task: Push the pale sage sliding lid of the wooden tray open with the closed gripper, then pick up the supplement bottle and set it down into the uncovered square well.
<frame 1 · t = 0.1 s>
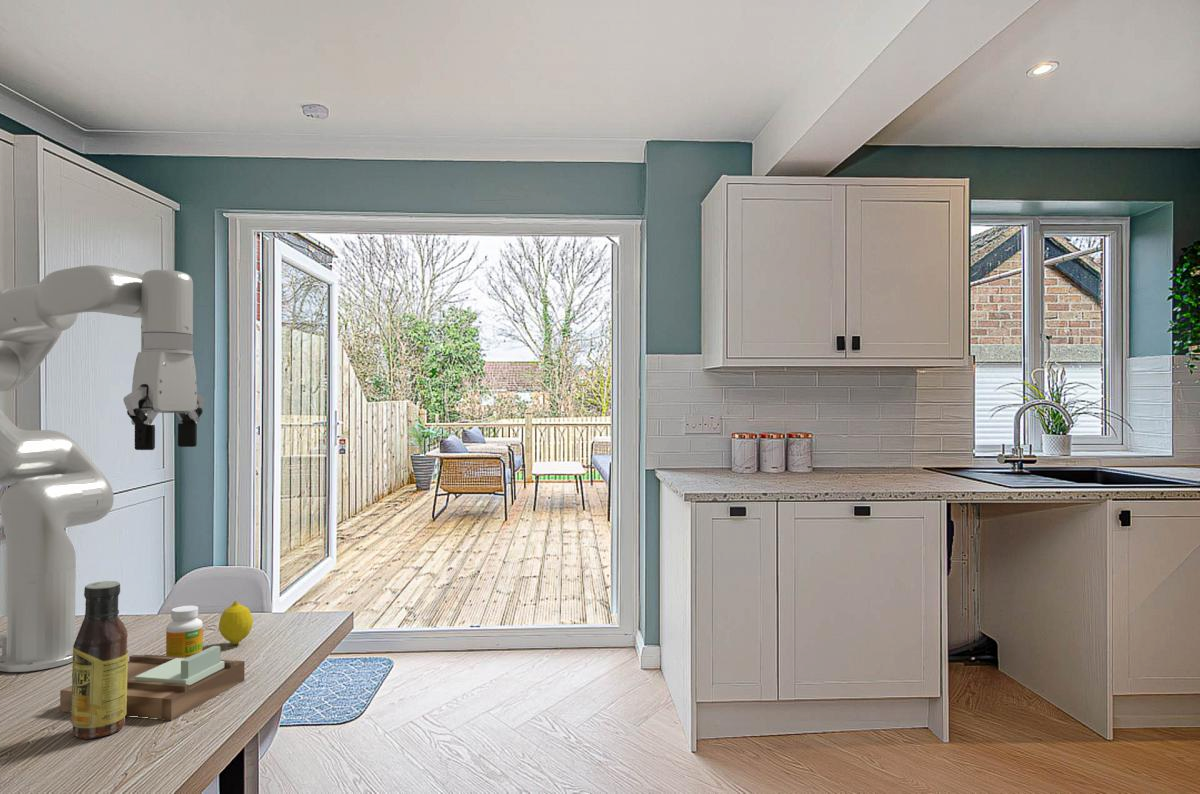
hand: (166, 448, 127), 37 cm above the table, tool pointing down, fingers open, 9 cm apart
supplement bottle: (184, 667, 128), on the table
wooden tray: (157, 694, 116), on the table
fruit: (235, 645, 140), on the table
sauce bottle: (99, 733, 103), on the table
lid: (180, 663, 115), point 5 cm above the table, slide at 0.0 cm
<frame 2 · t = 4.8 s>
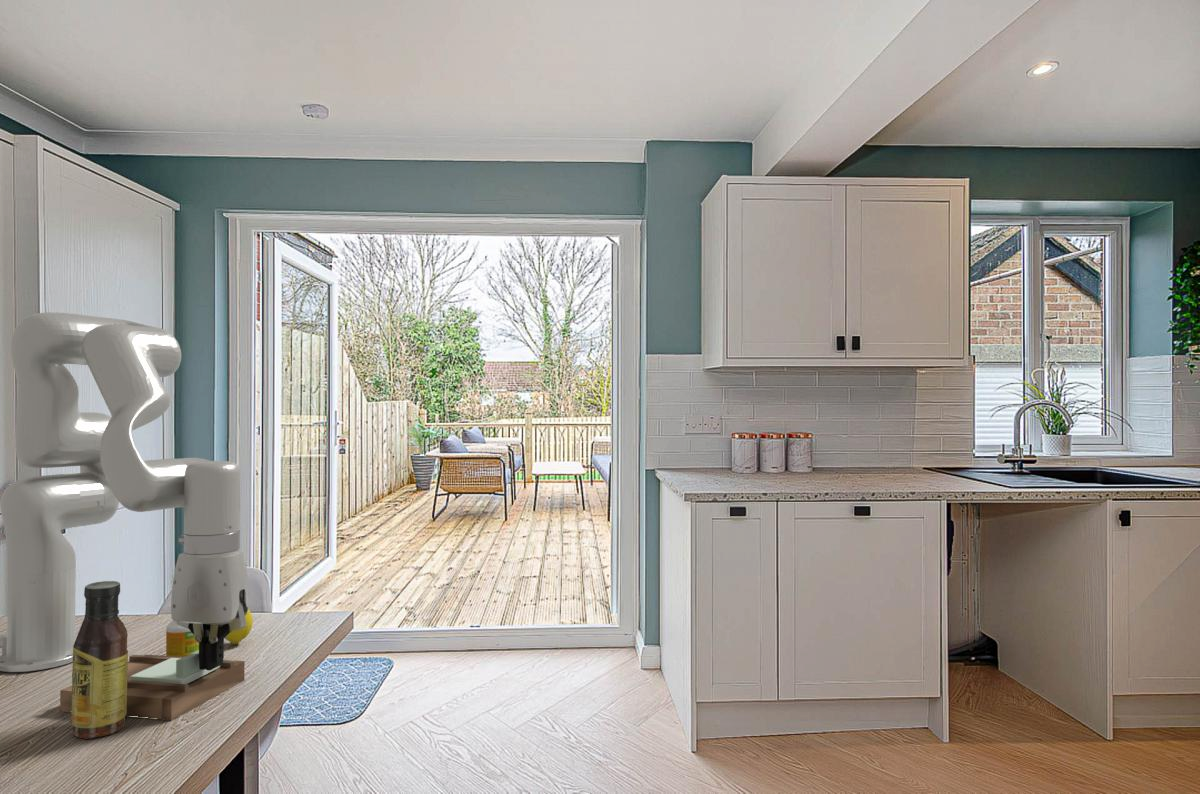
hand: (211, 666, 114), 5 cm above the table, tool pointing down, fingers closed
lid: (176, 663, 115), point 5 cm above the table, slide at 0.8 cm, touching gripper
everything else where it was.
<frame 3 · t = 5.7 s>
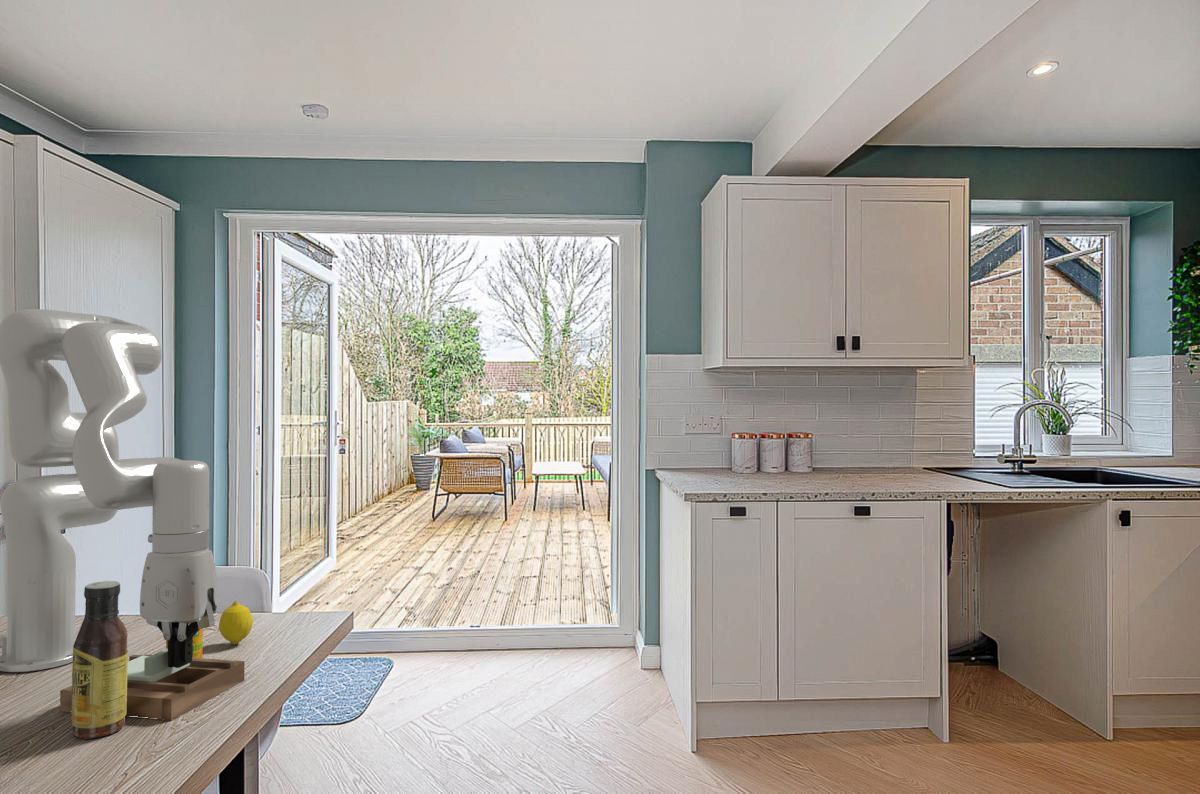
hand: (180, 664, 115), 5 cm above the table, tool pointing down, fingers closed
lid: (145, 661, 116), point 5 cm above the table, slide at 6.0 cm, touching gripper
everything else where it was.
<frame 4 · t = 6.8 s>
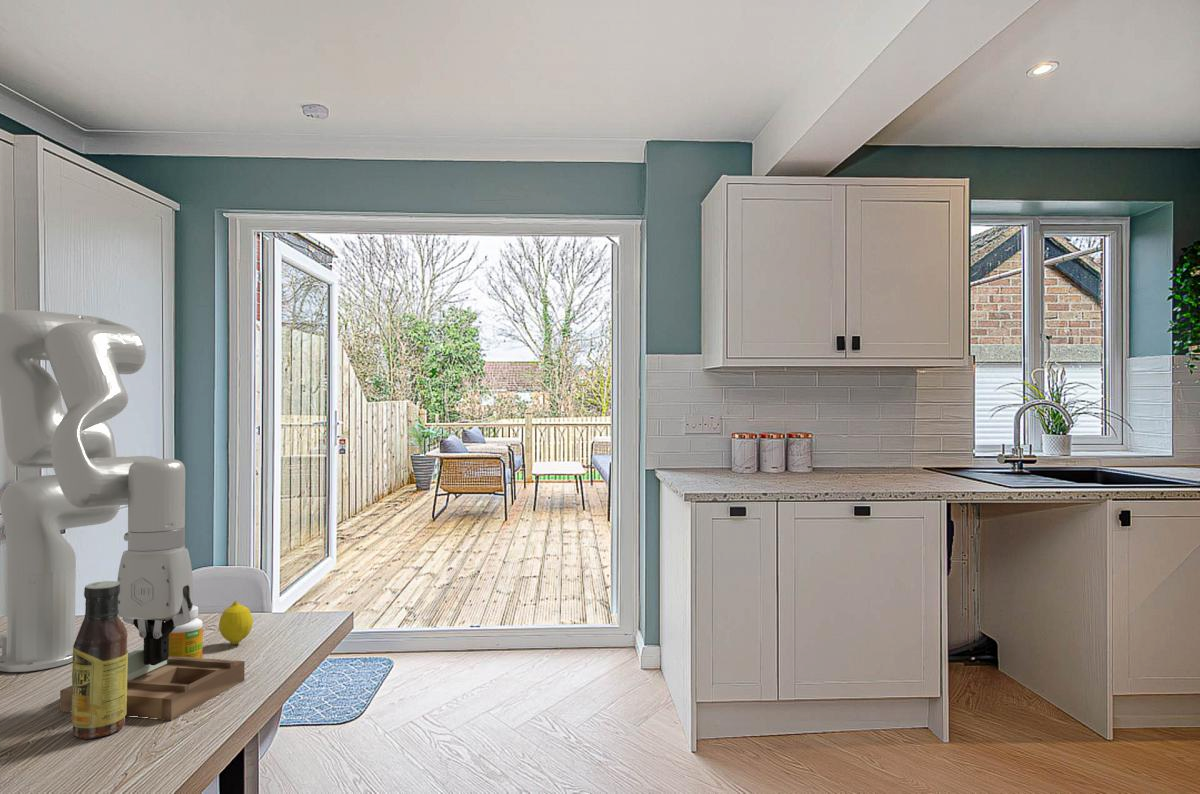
hand: (156, 662, 116), 5 cm above the table, tool pointing down, fingers closed
lid: (122, 659, 117), point 5 cm above the table, slide at 10.0 cm, touching gripper
everything else where it was.
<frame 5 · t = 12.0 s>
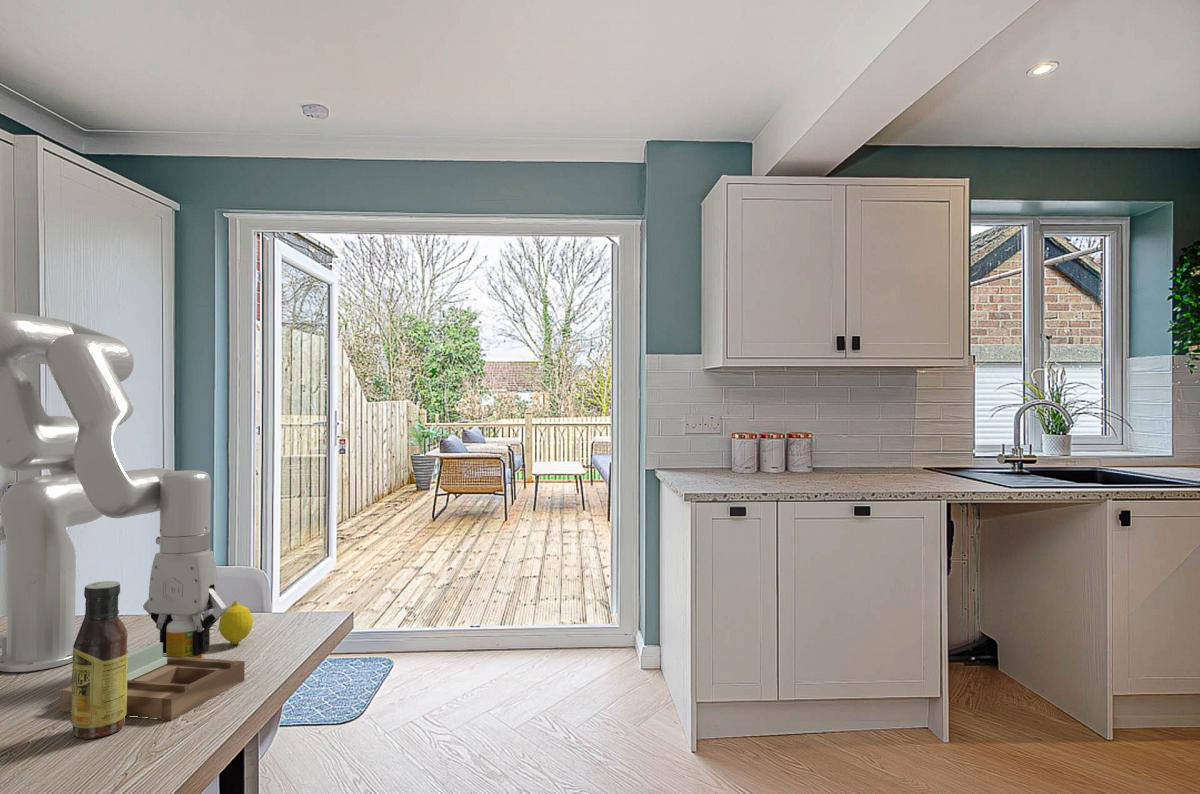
hand: (184, 651, 128), 3 cm above the table, tool pointing down, fingers closed on supplement bottle, 5 cm apart
supplement bottle: (184, 667, 128), on the table, touching gripper
lid: (122, 659, 117), point 5 cm above the table, slide at 10.0 cm
everything else where it was.
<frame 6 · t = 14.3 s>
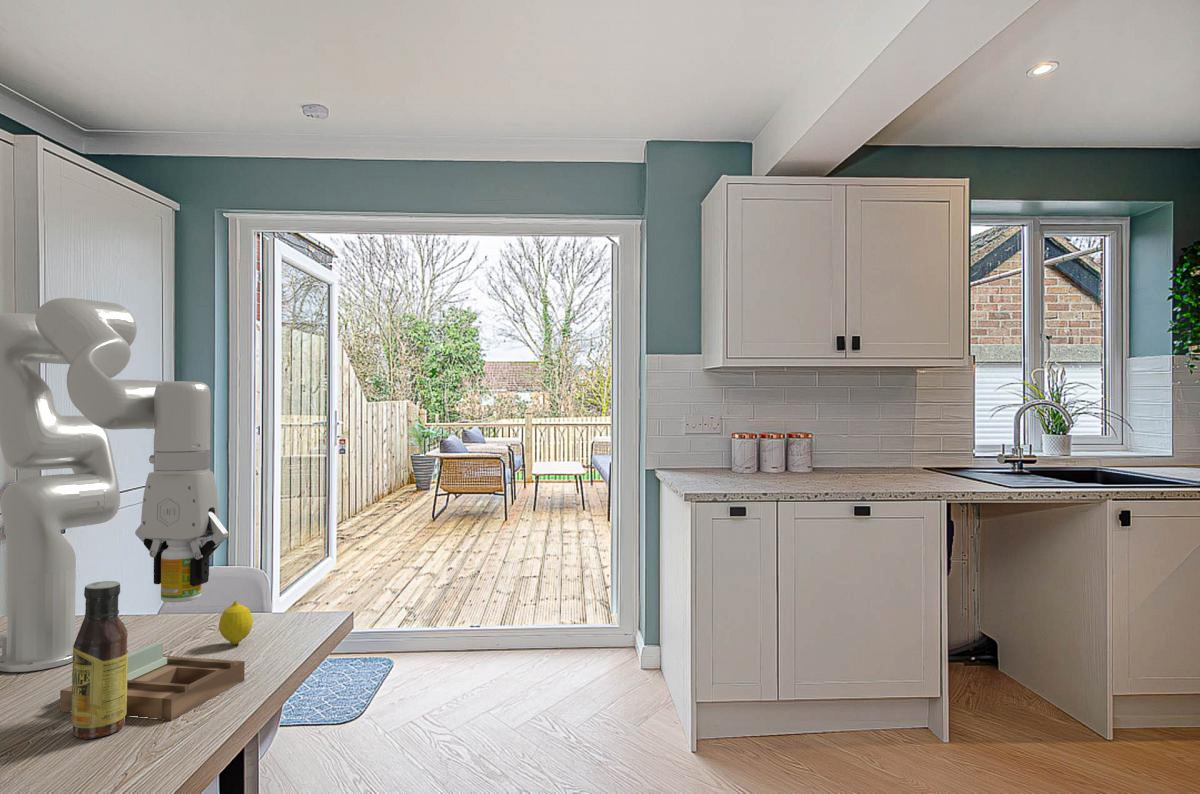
hand: (181, 581, 115), 17 cm above the table, tool pointing down, fingers closed on supplement bottle, 5 cm apart
supplement bottle: (181, 599, 115), point 14 cm above the table, touching gripper
everything else where it was.
when the fingers open (4 cm above the table, at t = 17.0 s): supplement bottle drops 1 cm, resting on wooden tray.
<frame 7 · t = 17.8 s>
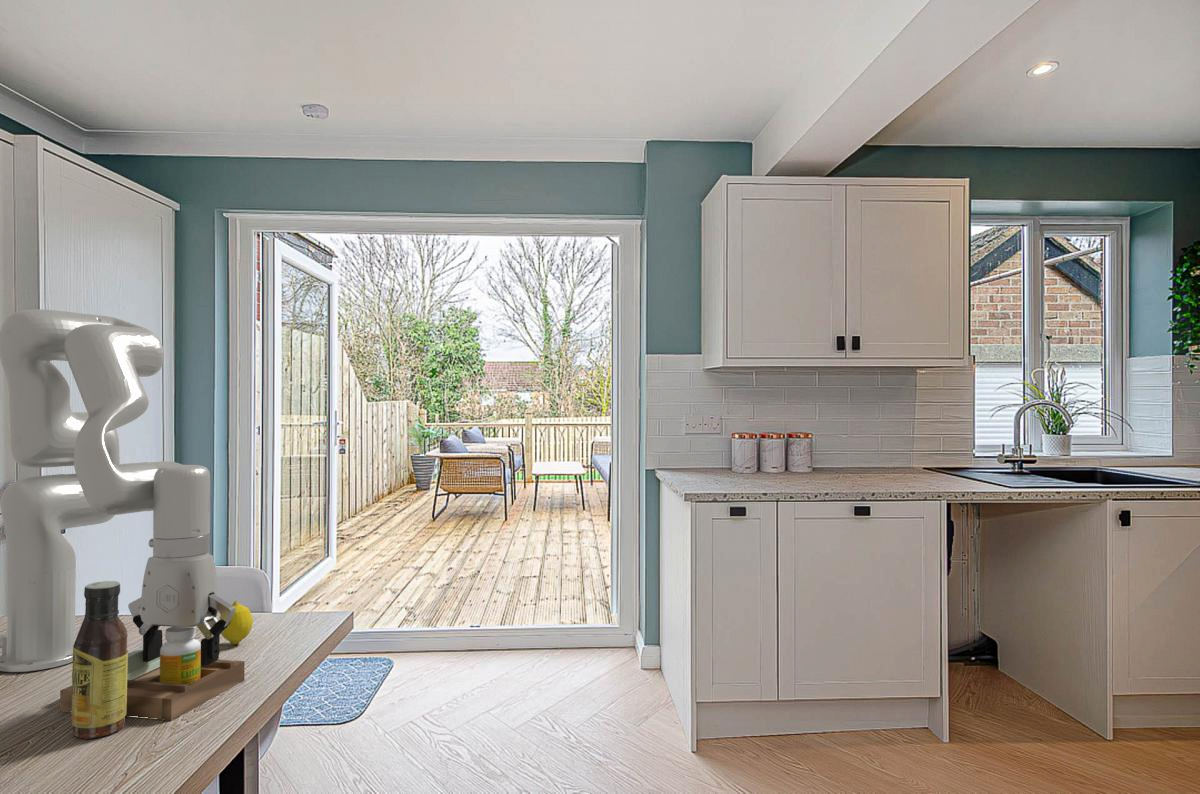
hand: (181, 661, 115), 5 cm above the table, tool pointing down, fingers open, 9 cm apart
supplement bottle: (180, 694, 115), resting on wooden tray
lid: (122, 659, 117), point 5 cm above the table, slide at 10.0 cm, touching gripper
everything else where it was.
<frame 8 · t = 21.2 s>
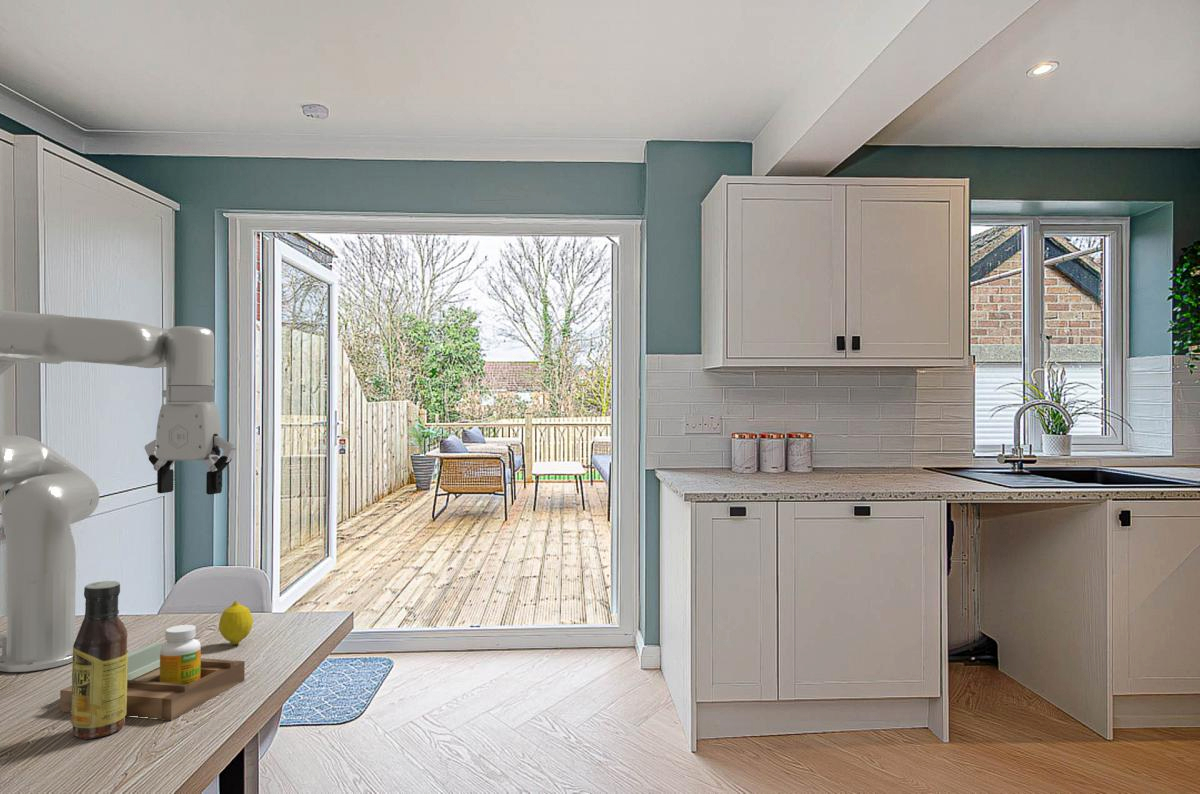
hand: (189, 493, 135), 28 cm above the table, tool pointing down, fingers open, 9 cm apart
lid: (122, 659, 117), point 5 cm above the table, slide at 10.0 cm
everything else where it was.
at the end: lid slide at 10.0 cm; supplement bottle 0.2 cm from the target spot on the wooden tray, point 0.3 cm above the wooden tray's base; supplement bottle tilted 0° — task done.
